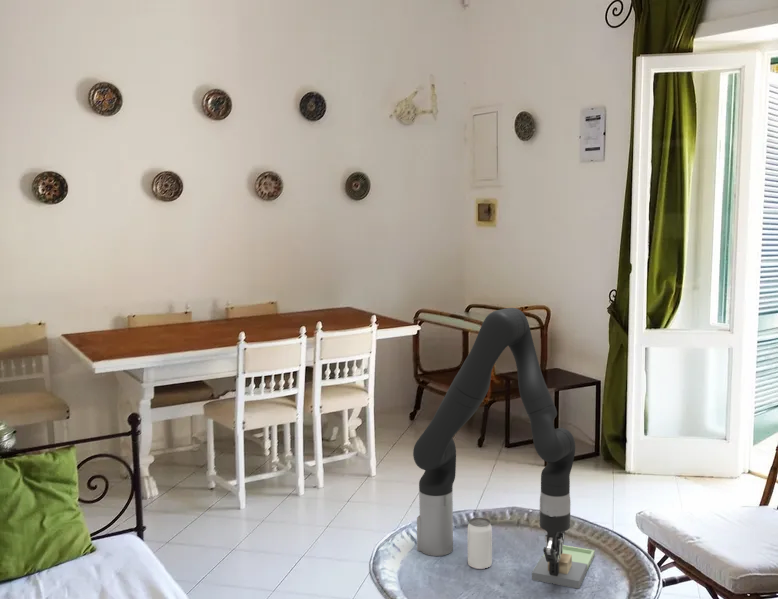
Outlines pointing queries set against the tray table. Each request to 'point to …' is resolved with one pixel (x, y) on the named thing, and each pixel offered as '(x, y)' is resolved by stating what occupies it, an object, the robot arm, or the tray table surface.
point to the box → (579, 554)
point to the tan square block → (564, 563)
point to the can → (479, 543)
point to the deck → (560, 574)
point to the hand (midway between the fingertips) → (554, 574)
